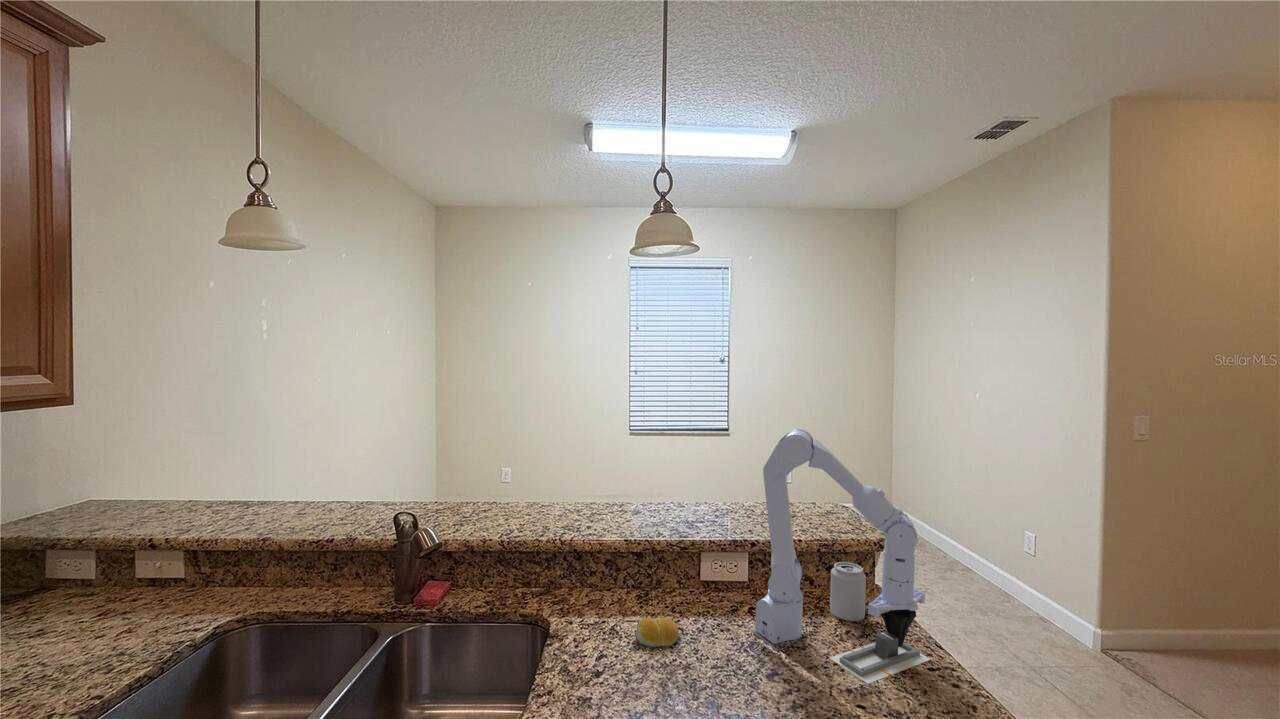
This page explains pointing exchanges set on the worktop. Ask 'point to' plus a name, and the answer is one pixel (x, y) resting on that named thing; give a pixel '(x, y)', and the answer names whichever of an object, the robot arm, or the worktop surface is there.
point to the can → (848, 591)
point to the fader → (886, 645)
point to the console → (878, 662)
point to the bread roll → (657, 632)
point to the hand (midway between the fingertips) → (895, 644)
